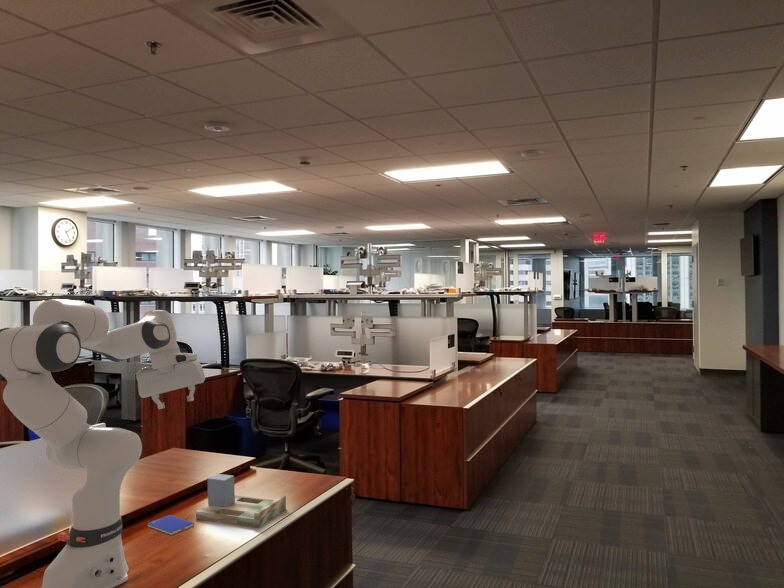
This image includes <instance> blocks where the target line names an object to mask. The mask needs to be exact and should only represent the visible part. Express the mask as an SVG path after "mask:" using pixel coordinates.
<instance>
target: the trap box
mask: <svg viewBox="0 0 784 588" xmlns="http://www.w3.org/2000/svg"><path fill="white" fill-rule="evenodd" d="M286 498H287V497H286V495H285V494H283V495H280V496H277V498H275V499H268V498H267V499H266V498H258V497H251V496H245V495H243V496H241V495H236V494H235V502H234V503H233V504H231V505H229V506H227V507H226V508H225V507H217V506H210V505H208V504H206V505H205V506H203V507H201V508H199V509H197V510H195V519H196V520H200V521H201V520H203V521H209V522H214V523H215V522H217V523H223V524H229V525H230V524H231V525H237V526H243V527H251V528H256V529H257V528H258V529H259V528H261V527H262V526H264V525H266V524H267V523H268V522H269V521H271V520H272V519H274V518H275V517H277V516H279V514H282V511H283V512H284V511H285V510H286V509H287V499H286Z"/></svg>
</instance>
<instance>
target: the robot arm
mask: <svg viewBox="0 0 784 588" xmlns="http://www.w3.org/2000/svg"><path fill="white" fill-rule="evenodd" d="M109 321H110V320H109V317H108V315H107V314H106V312H105V310H103V309H102V308H100V307H98V306H96V305H94V304H91V303H87V302H83V301H79V300H78V301H77V300H73V299H65V298H64V299H60V298H52V299H47V300H44V301H43V302H42V303H40V304H39V305H38V306H37V307H36V309H35V311H34V312H33V315H32V324H31V325H22V326H16V327H4V328H0V382H5V383H6V382H7V383H6V385H5V387H4V389H3V391H2V392H3V393H2V400H3V402H4V404H5V405H6V407H7V408H8V410H9V411H10V412H11V413H12V414H13V416H14V417H15V418H16V419H17V420H19V421H20V423H22V424H23V425H24V426H25V427H26V428H28V429H29V430H30V431H32V432H33V433H34V434H35V435H36V436H37V437H39V438H40V439H42V440H43V441H44V442H45V443H46V450H45V451H46V457H47V459H48V461H49V462H50V463H52V464H53V465H56V466H59V467H62V468H65V469H68V470H82V471H87V478H86V482H85V484H84V485H82V486H81V487H80V488H78V489H77V490H76V491H75V492H74V494H73V495H72V498H71V508H72V509H71V516H72V525H71V527H70V529H69V532H63V531H62V532H60V533H58V535H57V541H59V542H66V544H65V546H64V547H63V548H62V549H61V550H60V552H59V553H58V554H57V556H56V557H55V558H54V559H53V560H52V561H51V563H49V565H48V566H47V568H46V569H45V571H44V573H43V577H42V586H41V587H40V588H115V587H117V586H119V585H121V584H123V583H125V582H127V581H128V580H129V576H128V572H129V566H128V564H127V560H126V556H125V553H124V552H125V551H124V547H123V546H124V545H123V540H122V533H123V519H122V516H121V507H120V506H121V503H120V502H121V487H122V484H123V480H124V478H125V476H126V475H127V474H128V472H129V470H130V469H132V468H133V467H134V466H135V465H136V464H137V462H138V461H139V459H140V458H141V455H142V451H143V444H142V440H141V437H140V436H139V434H138V433H136V432H133V431H131V430H128V429H125V428H123V427H122V428H121V427H110V426H109V427H106V426H96V425H95V426H94V425H92V424H89V423H87V422H88V411H87V409H86V408H85V407H84V406H83V405H82V404H81V403H80V402H79V401H78V399H76V398H74V397H73V396H72V395H71V393H69V392H68V391H67V389H64V388H63V387H62V386H61V385H60V384H59V383H56V381H55V379H54V378H53V376H52V373H58V372H62V371H65V370H67V369H70V368H72V367H74V365H76V363H77V361H78V360H79V358H80V356H81V352H82V350H86V351H89V352H92V353H97V354H100V355H102V356H103V357H104V358H106V359H107V360H109V361H111V362H112V363H113V362H114V363H119V362H122V361H125V360H128V359H130V358H135V357H138V356H141V355H144V354H145V355H146V354H149V358H150V363H151V365H148V366H145V367H141V368H139V369H138V370H137V372H136V374H135V378H136V381H137V389H138V396H140V398H142V399H145V398H149V397H151V400H152V401H153V402H154V403H155V404H156V405H157V409H158V410H162V409H165V408H166V405H165V402H161V400H160V394H161V395H162V394H164V393H169V392H171V391H176V390H179V389H184V388H187V389H188V390H189V395H187V396H186V401H187V402H188V403H189V402H193V401H195V399H194V397H195V396H194V394H195V391H196V385H198V384H203V383H204V382H205V380H206V375H205V372H204V369H203V367H202V364H201V363H200V361H198V355H197V354H196V353H193V352H192V353H191V352H190V353H188V352H181V350H180V346H179V345H178V342H177V332H176V329H175V324H174V321H173V318H172V316H171V315H170V313H169V311H167V310H165V309H153V310H150V311H149V310H148V311H146V312H145V313H144V314H143V318H141V319H139V321H137V322H134V323H130V324H128V325H124V326H121V327H117V328H112V329H110V322H109Z"/></svg>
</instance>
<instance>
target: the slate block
mask: <svg viewBox="0 0 784 588" xmlns="http://www.w3.org/2000/svg"><path fill="white" fill-rule="evenodd" d="M206 480H207V481H206V482H207V505H210V506H217V507H225V508H226V507H227V506H229V505H231V504H233V503H234V502H235V495H236V494H235V493H236V492H235V475H230V474H222V473H215V474H214V475H212V476H209V477H207V479H206Z"/></svg>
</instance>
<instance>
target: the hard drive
mask: <svg viewBox="0 0 784 588" xmlns="http://www.w3.org/2000/svg"><path fill="white" fill-rule="evenodd" d="M193 526H195V523H194V522H192V521H188V520H186V519H183V518H180V517H177V516H175V515H172V514H168V515H166V516H163V517H160V518H157V519H155V520H152V521H150V522H148V523H147V527H148V528H152V529H154V530H157V531H159V532H162V533H166V534H168V535H170V536H173V535H174V534H177V533H179V532H182V531H184V530H186V529H187V530H188V529H189V528H192V527H193Z"/></svg>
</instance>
